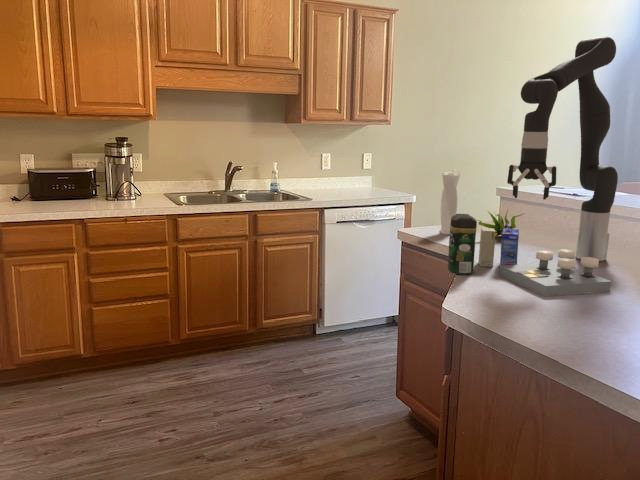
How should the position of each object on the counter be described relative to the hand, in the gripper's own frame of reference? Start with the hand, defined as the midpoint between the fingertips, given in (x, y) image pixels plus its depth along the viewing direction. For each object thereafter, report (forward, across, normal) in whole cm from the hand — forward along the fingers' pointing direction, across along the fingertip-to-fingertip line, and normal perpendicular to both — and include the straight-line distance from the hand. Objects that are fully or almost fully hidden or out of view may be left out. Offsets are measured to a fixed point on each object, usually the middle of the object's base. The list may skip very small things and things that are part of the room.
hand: (530, 198), depth 176 cm
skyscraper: (+24, +36, -50) cm, 66 cm away
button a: (+21, -12, +1) cm, 24 cm away
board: (+24, -9, +10) cm, 27 cm away
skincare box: (+24, +12, -2) cm, 27 cm away
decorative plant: (+24, +12, -41) cm, 49 cm away
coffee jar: (+24, +18, +11) cm, 32 cm away
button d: (+20, -13, +14) cm, 28 cm away
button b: (+21, -19, +9) cm, 29 cm away
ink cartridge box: (+24, +5, -3) cm, 25 cm away
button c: (+20, -6, +6) cm, 22 cm away
